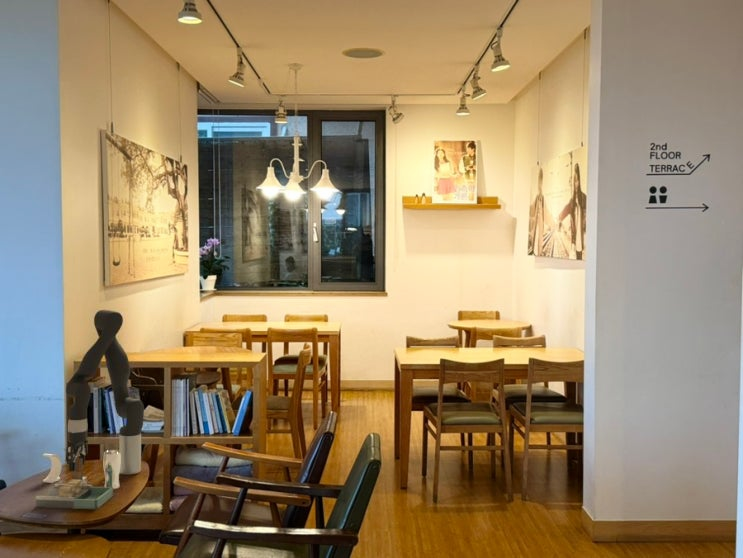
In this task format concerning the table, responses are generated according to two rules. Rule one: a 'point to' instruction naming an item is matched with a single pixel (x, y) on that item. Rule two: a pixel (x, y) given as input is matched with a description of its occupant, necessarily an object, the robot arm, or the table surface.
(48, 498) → the open box
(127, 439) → the robot arm
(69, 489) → the maple cube
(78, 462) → the rake tool
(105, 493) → the chip tray
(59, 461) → the headphone stand
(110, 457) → the beer glass
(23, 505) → the table surface
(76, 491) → the maple cube
